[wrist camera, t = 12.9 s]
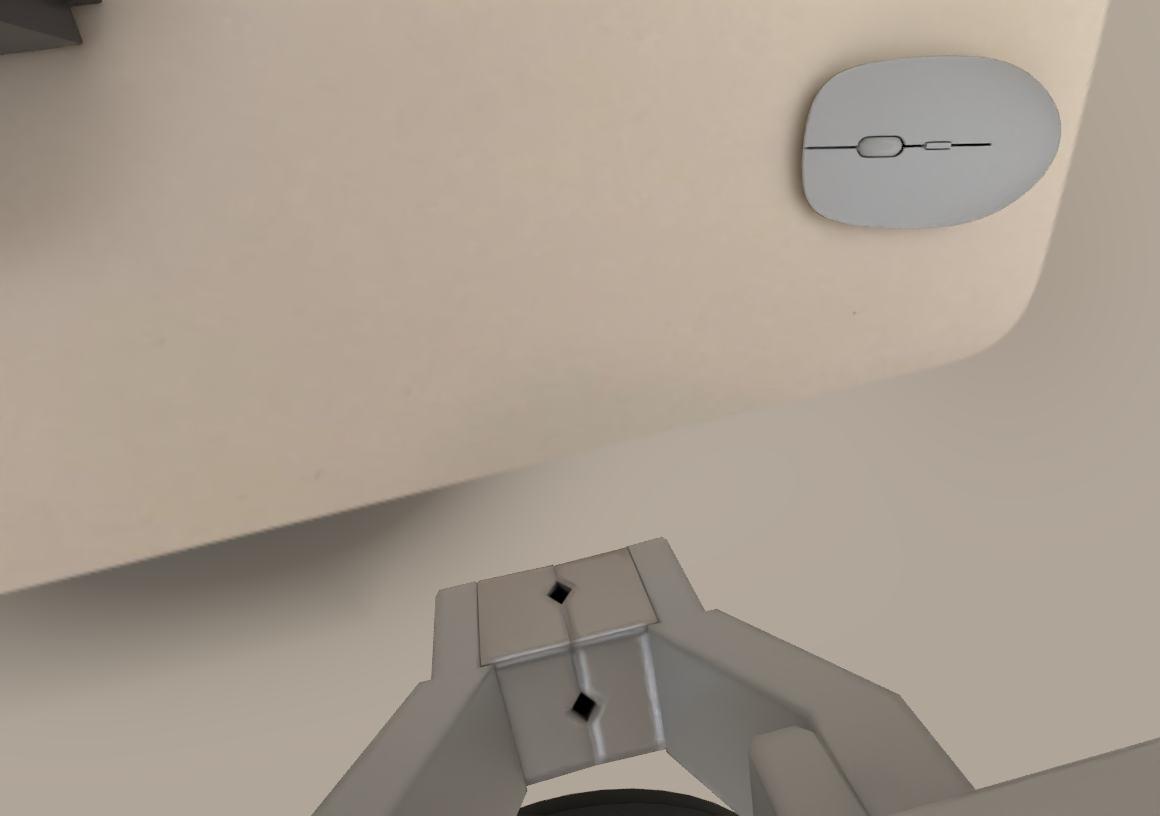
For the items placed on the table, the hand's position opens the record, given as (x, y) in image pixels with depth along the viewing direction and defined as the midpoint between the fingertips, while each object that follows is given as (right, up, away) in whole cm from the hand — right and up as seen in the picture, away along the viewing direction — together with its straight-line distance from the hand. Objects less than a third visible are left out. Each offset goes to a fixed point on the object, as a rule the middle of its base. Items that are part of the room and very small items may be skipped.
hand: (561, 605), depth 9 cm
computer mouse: (+13, +13, +18) cm, 26 cm away
